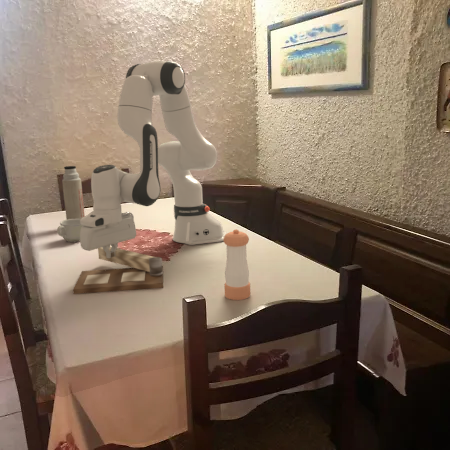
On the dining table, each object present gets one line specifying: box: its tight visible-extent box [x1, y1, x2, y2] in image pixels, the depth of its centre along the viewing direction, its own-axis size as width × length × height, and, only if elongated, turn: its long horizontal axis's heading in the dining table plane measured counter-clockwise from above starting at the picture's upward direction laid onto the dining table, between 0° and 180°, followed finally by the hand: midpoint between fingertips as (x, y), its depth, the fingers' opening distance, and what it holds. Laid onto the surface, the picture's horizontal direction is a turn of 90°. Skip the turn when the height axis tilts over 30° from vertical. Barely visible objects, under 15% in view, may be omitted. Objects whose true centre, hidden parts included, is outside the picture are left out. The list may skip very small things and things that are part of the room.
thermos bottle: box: [61, 165, 86, 220], centre depth 215 cm, size 8×8×28 cm
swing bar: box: [97, 246, 164, 273], centre depth 157 cm, size 28×4×4 cm, turn 53°
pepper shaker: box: [223, 229, 251, 301], centre depth 134 cm, size 7×7×19 cm
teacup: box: [56, 219, 83, 243], centre depth 196 cm, size 14×11×8 cm
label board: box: [72, 265, 164, 295], centre depth 150 cm, size 26×16×2 cm, turn 97°
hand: (111, 257), depth 158 cm, fingers closed
